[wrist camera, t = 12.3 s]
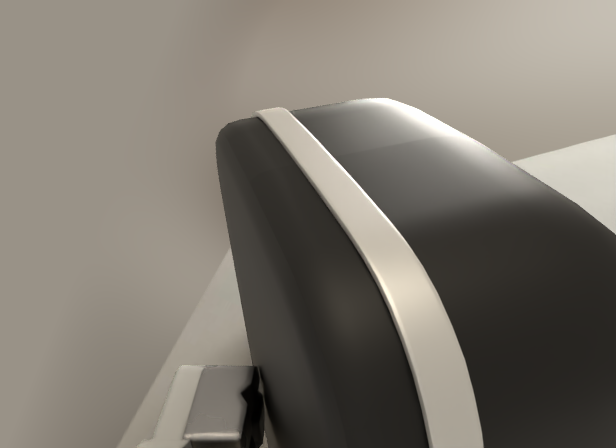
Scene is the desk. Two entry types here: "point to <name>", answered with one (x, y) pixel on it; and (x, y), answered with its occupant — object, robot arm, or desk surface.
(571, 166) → the desk surface
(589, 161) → the desk surface
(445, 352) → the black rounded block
